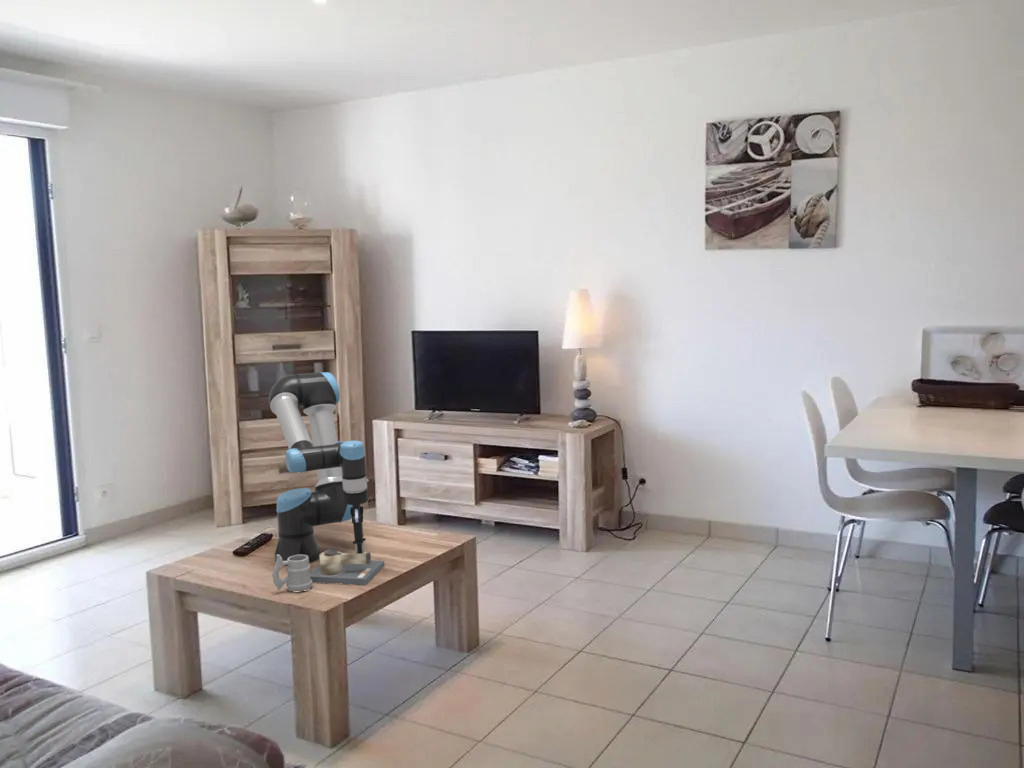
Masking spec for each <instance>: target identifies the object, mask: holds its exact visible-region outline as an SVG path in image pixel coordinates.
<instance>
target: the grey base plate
mask: <svg viewBox="0 0 1024 768" xmlns="http://www.w3.org/2000/svg"><path fill="white" fill-rule="evenodd" d="M384 566H385V560H376V559H375V560H374V559H373V560H371V563H370V564H343V571H342V572H341V573H339V574H336V575H323V574H321V572H320V564H318V566H316V567H315V568H313V569H312V570H310V577H311V579H312V582H318V583H317V584H328V583H342V584H341V585H348V584H356V585H355V586H367V585H368V584H369V582H370V581H372V580H373V577H374V576H375V575H376V574H377V573H378V572H379V571H380V570H381V569H382V568H383V567H384ZM384 568H385V567H384ZM384 568H383V569H384ZM383 569H382V570H383ZM382 570H381V571H382ZM381 571H380V572H381ZM380 572H379V573H380ZM379 573H378V574H379ZM378 574H377V575H378ZM377 575H376V576H377ZM374 578H375V577H374ZM319 582H321V583H319ZM323 582H324V583H323Z"/></svg>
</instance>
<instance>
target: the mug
mask: <svg viewBox="0 0 1024 768" xmlns="http://www.w3.org/2000/svg"><path fill="white" fill-rule="evenodd" d="M283 566H287V567H286V572H287V576H286V577H284V578H281V577H280V570H281V569H282V567H283ZM310 572H311V564H310V563H309V557H308V556H307V555H294V556H291V557H289V558H288V559H287V561H283V560H282V557H281V556H280V555H278V554H277V561H276V562H275V565H274V568H273V572H272V579H273V580H272V581H273V584H274V587H276V589H277V590H280V589H281V588H283V586H284V585H286V587H287V590H290V591H299V592H300V591H304V590H308V589H310V588H311V589H312V584H313V583H312V579H311V577H310ZM311 589H310V590H311ZM290 591H289V592H290ZM308 591H309V590H308ZM300 593H301V592H300Z"/></svg>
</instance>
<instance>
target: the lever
mask: <svg viewBox="0 0 1024 768" xmlns="http://www.w3.org/2000/svg"><path fill="white" fill-rule="evenodd" d="M371 555H372V553H371V551H367V552H365V553H359V554H358V553H356V552H342V551H339V550H338V549H336V548H329V549H325V550H324V551H323V552H320V555H319V556H320V557H319V565H320V572H321V574H323V575H336V574H339V573H341V572H342V571H343V564H370V563H371V559H372V558H371V557H372V556H371Z"/></svg>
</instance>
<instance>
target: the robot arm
mask: <svg viewBox="0 0 1024 768" xmlns="http://www.w3.org/2000/svg"><path fill="white" fill-rule="evenodd" d="M340 399H341V396H340V389H339V384H338V381H337V379H336V376H335V375H333V373H331V372H329V371H327V372H323V371H322V372H320V371H317V372H311V373H310V372H309V373H297V374H287V375H284V376H283V377H281V378H279V379H278V380H277V381H276V382H275V383H274V384H273V385H272V387H271V390H270V391H269V396H268V405H269V408H270V410H271V412H272V413H273V414H274V415H276V418H277V421H278V423H279V425H280V426H279V427H280V428H281V431H282V434H283V437H284V440H285V442H286V445H287V448H288V449H287V450H286V452H285V464H286V468H287V470H288V472H289V473H304V472H312V471H316V476H317V480H318V482H317V483H316V484H315V486H314V491H312V490H311V489H310V488H308V487H302V488H295V489H291V490H287V491H285V492H283V493H281V494H279V495H278V496H277V499H276V508H275V509H276V513H277V514H276V516H277V531H278V541H277V545H276V548H275V552H274V561H277V554H278V555H280V556H281V557H282V560H283V561H287V559H288V558H289V557H291V556H294V555H307V556H308V557H309V564H310V563H312V562H315V561H317V560H319V559H320V556H319V555H320V554H321V549H320V546H319V543H318V541H317V539H316V536H315V534H314V527H315V526H316V527H317V526H322V525H329V524H336V523H337V524H338V523H343V522H346V521H347V522H349V521H351V524H352V525H353V526H352V527H353V536H354V541H352V544H353V545H354V548H355V550H354V551H355V553H358V554H359V553H366V552H365V543H364V541H366V539H367V538H366V537H364V535H365V534H364V527H363V522H364V506H362V504H366V503H367V502H368V501H369V493H368V490H367V488H368V482H369V481H370V480H369V478H367V466H366V464H367V463H366V450H365V444H364V443H363V442H362V441H361V440H346V441H344V440H343V441H338V437H337V431H336V430H337V429H336V425H335V418H334V411H335V410H336V408H337V404H338V403H340ZM301 407H302V411H303V413H304V414H305V415H306V416H308V422H309V428H310V435H311V436H310V435H309V432H308V430H307V428H306V424H305V421H304V419H303V417H302V415H301V411H300V410H299V408H301ZM310 437H311V438H310Z"/></svg>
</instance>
